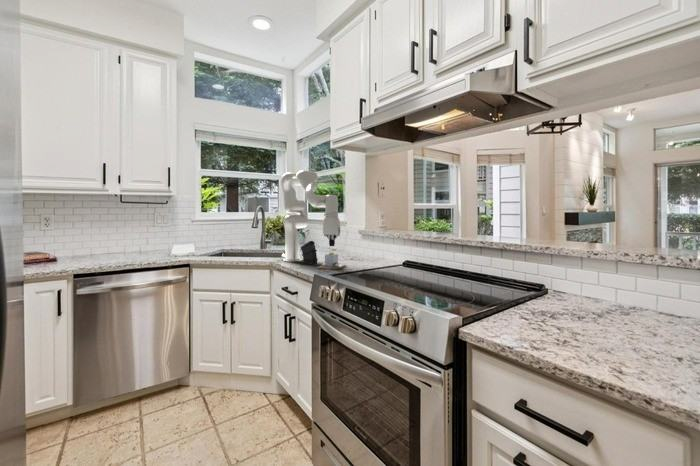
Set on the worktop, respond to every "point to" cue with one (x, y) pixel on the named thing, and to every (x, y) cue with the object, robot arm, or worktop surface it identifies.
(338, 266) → the rail board
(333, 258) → the module
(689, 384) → the worktop surface
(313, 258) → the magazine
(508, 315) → the worktop surface
